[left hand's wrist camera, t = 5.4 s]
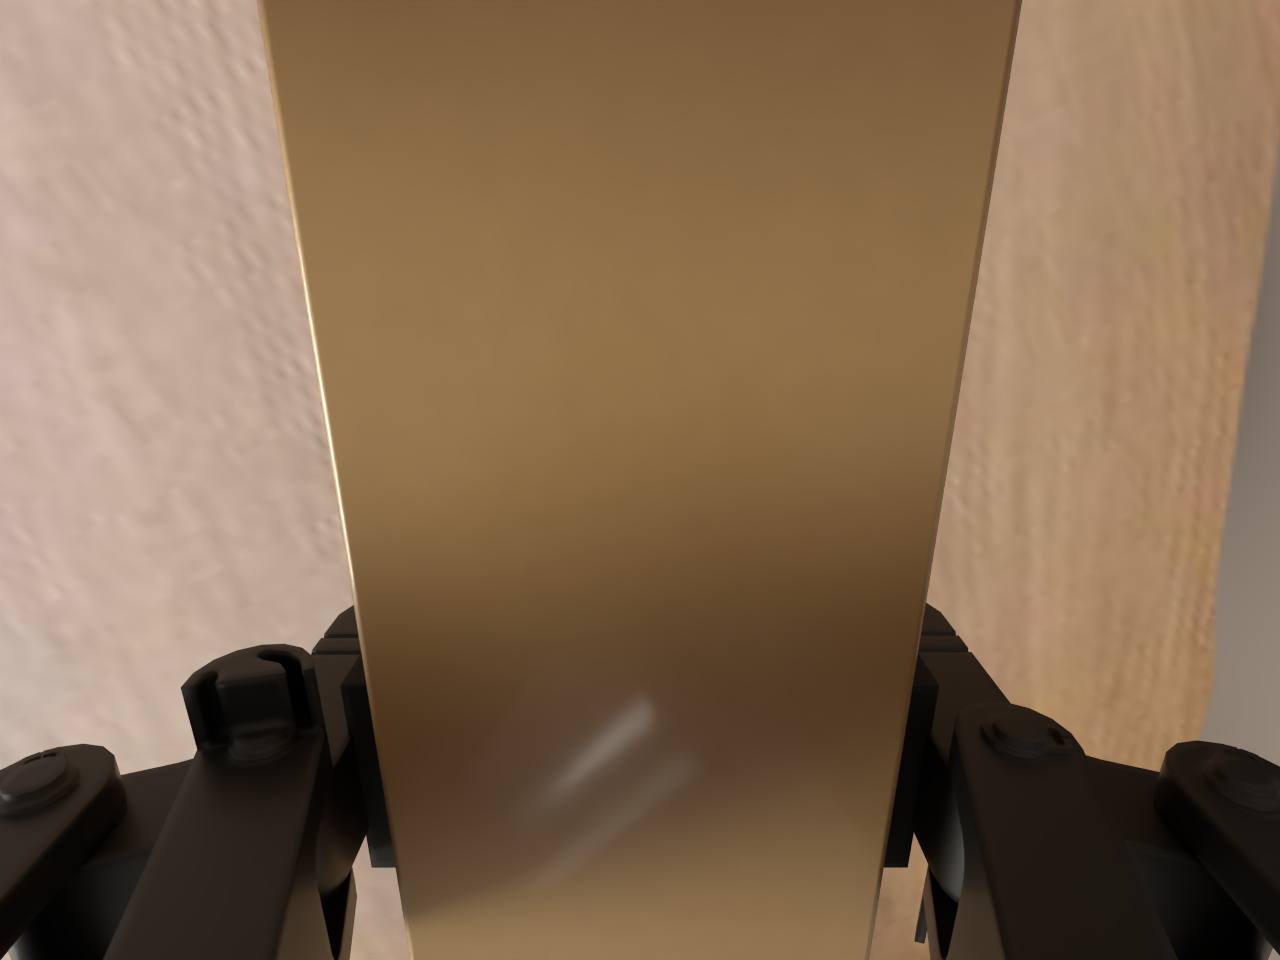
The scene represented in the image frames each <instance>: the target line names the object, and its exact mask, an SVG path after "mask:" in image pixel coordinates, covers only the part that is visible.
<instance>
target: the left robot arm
mask: <svg viewBox="0 0 1280 960" xmlns="http://www.w3.org/2000/svg"><path fill="white" fill-rule="evenodd" d="M181 690H182V694H183V698H184V702H185V705H186V709H187V713H188V716H189V720H190V724H191V728H192V731H193V735H194V739H195V742H196V746H197V752H196V754H195V756H194V759H190V760H187V761H183V762H180V763H175V764H171V765H166V766H162V767H157V768H152V769H148V770H143V771H138V772H134V773H129V774H124V775H120V772H119V769H118V766H117V763H116V760H115V756H114V755H113V754H112V753H111V752H109V751H108V750H107V749H106V748H105V747H103V746H96V745H89V744H78V745H71V746H63V747H57V748H53V749H49V750H45V751H44V752H41V753H40V752H39V753H36V754H33V755H30V756H28V757H25V758H23V759H22V760H20V761H18V762H16V763H14V764H12V765H10V766H8V767H6V768H4V769H2V770H0V960H1V959H2V958H3V956H4V955H5V954H6V953H7V952H8V953H9V955H10V957H11V960H350V951H351V943H352V934H353V926H354V917H355V908H356V900H357V893H356V886H355V879H354V874H353V868H352V865H353V863H354V860H355V858H356V856H357V854H358V851H359V849H360V847H361V845H362V842H363V840H364V838H365V836H366V837H367V842H368V848H369V854H370V859H371V865H372V867H396V866H395V860H394V854H393V847H392V841H391V835H390V829H389V822H388V816H387V810H386V804H385V797H384V791H383V785H382V779H381V772H380V766H379V760H378V754H377V747H376V741H375V735H374V729H373V722H372V716H371V710H370V704H369V697H368V691H367V685H366V679H365V672H364V666H363V660H362V654H361V647H360V641H359V635H358V629H357V622H356V616H355V610H354V605H353V606H352V607H350V608H348V609H347V610H345V611H344V612H342V613H341V614H339V616H338V617H337V618H336V619H335V621H334V622H333V623H332V625H331V626H330V627H329V629H328V630H327V631H326V633H325V634H324V638H321V639H320V640H319V642H318V643H317V644H316V646H315V647H314V648H313V650H312V654H311V655H310V654H309V653H308V652H307V651H305V650H304V649H303V648H300V647H296V646H291V645H287V644H271V645H259V646H255V647H250V648H246V649H241V650H237V651H235V652H232V653H230V654H227V655H225V656H222V657H220V658H218V659H215V660H213V661H211V662H210V663H208V664H207V665H205V666H204V667H202V668H201V669H199V670H197V671H196V672H194V673H193V674H192V675H191V676H190V678H189V679H188V680H187V681H186V682H185V683H184V684H183V686H182V687H181ZM914 833H915V835H916V838H917V840H918V842H919V844H920V847H921V849H922V851H923V853H924V856H925V858H926V860H927V862H928V868H927V874H926V879H925V884H924V889H923V895H922V900H921V905H920V911H919V916H918V921H917V927H916V934H915V942H919V943H924V942H925V937H926V932H928V941H929V949H930V958H931V960H1268V958H1269V956H1270V953H1271V951H1272V949H1273V948H1274V949H1275V950H1276V952H1277V953H1278V954H1279V955H1280V767H1279V766H1277V765H1275V764H1273V763H1271V762H1269V761H1267V760H1265V759H1263V758H1261V757H1259V756H1258V755H1256V754H1254V753H1251V752H1248V751H1246V750H1243V749H1237V748H1236V747H1232V746H1228V745H1225V744H1219V743H1212V742H1204V741H1190V742H1182V743H1177V744H1176V745H1174V746H1173V747H1172V748H1171V749H1169V750H1168V751H1167V752H1166V754H1165V758H1164V761H1163V764H1162V767H1161V770H1160V772H1156V771H1152V770H1147V769H1142V768H1138V767H1133V766H1128V765H1124V764H1119V763H1114V762H1110V761H1105V760H1101V759H1097V758H1094V757H1090V756H1086V755H1085V753H1084V751H1083V749H1082V747H1081V746H1080V745H1079V743H1078V742H1077V741H1076V739H1075V738H1074V736H1073V735H1072V734H1071V733H1070V732H1069V731H1067V730H1066V729H1065V728H1063V727H1062V726H1061V725H1059V724H1058V723H1057V722H1055V721H1054V720H1053V719H1051V718H1049V717H1047V716H1045V715H1043V714H1040V713H1038V712H1036V711H1034V710H1032V709H1030V708H1026V707H1022V706H1018V705H1015V704H1011V703H1010V702H1009V701H1008V699H1007V698H1006V697H1005V695H1004V694H1003V693H1002V692H1001V690H1000V689H999V688H998V686H997V685H996V684H995V682H994V681H993V680H992V678H991V677H990V676H989V675H988V673H987V672H986V671H985V669H984V668H983V667H982V665H981V664H980V663H979V662H978V660H977V659H976V658H975V656H974V655H973V654H972V652H968V647H967V646H966V645H965V643H964V642H963V641H962V639H961V638H960V637H959V636H956V632H955V630H954V629H953V628H952V626H951V625H950V624H949V622H948V621H947V620H946V619H945V617H944V616H943V615H942V613H941V612H940V611H938V610H937V609H935V608H933V607H932V606H930V605H929V604H927V603H926V605H925V611H924V617H923V624H922V630H921V636H920V642H919V649H918V655H917V661H916V667H915V674H914V680H913V686H912V693H911V699H910V705H909V711H908V718H907V724H906V730H905V736H904V743H903V749H902V755H901V761H900V768H899V774H898V780H897V786H896V793H895V799H894V805H893V812H892V818H891V824H890V830H889V837H888V843H887V849H886V855H885V862H884V867H908V862H909V857H910V851H911V845H912V839H913V834H914Z"/></svg>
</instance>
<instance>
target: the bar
mask: <svg viewBox="0 0 1280 960" xmlns="http://www.w3.org/2000/svg"><path fill="white" fill-rule="evenodd" d="M257 4H258V10H259V16H260V22H261V29H262V35H263V41H264V47H265V54H266V60H267V66H268V72H269V79H270V85H271V91H272V97H273V104H274V110H275V116H276V122H277V129H278V135H279V141H280V147H281V154H282V160H283V166H284V172H285V179H286V185H287V191H288V197H289V204H290V210H291V216H292V222H293V229H294V235H295V241H296V247H297V254H298V260H299V266H300V272H301V279H302V285H303V291H304V297H305V304H306V310H307V316H308V322H309V329H310V335H311V341H312V347H313V354H314V360H315V366H316V372H317V379H318V385H319V391H320V397H321V404H322V410H323V416H324V422H325V429H326V435H327V441H328V447H329V454H330V460H331V466H332V472H333V479H334V485H335V491H336V497H337V504H338V510H339V516H340V522H341V529H342V535H343V541H344V547H345V554H346V560H347V566H348V572H349V579H350V585H351V591H352V597H353V604H354V610H355V616H356V622H357V629H358V635H359V641H360V647H361V654H362V660H363V666H364V672H365V679H366V685H367V691H368V697H369V704H370V710H371V716H372V722H373V729H374V735H375V741H376V747H377V754H378V760H379V766H380V772H381V779H382V785H383V791H384V797H385V804H386V810H387V816H388V822H389V829H390V835H391V841H392V847H393V854H394V860H395V866H396V872H397V879H398V885H399V891H400V897H401V904H402V910H403V916H404V922H405V929H406V935H407V941H408V947H409V954H410V960H869V956H870V949H871V943H872V937H873V931H874V924H875V918H876V912H877V905H878V899H879V893H880V887H881V880H882V874H883V868H884V862H885V855H886V849H887V843H888V837H889V830H890V824H891V818H892V812H893V805H894V799H895V793H896V786H897V780H898V774H899V768H900V761H901V755H902V749H903V743H904V736H905V730H906V724H907V718H908V711H909V705H910V699H911V693H912V686H913V680H914V674H915V667H916V661H917V655H918V649H919V642H920V636H921V630H922V624H923V617H924V611H925V605H926V599H927V592H928V586H929V580H930V574H931V567H932V561H933V555H934V548H935V542H936V536H937V530H938V523H939V517H940V511H941V505H942V498H943V492H944V486H945V480H946V473H947V467H948V461H949V454H950V448H951V442H952V436H953V429H954V423H955V417H956V411H957V404H958V398H959V392H960V386H961V379H962V373H963V367H964V361H965V354H966V348H967V342H968V335H969V329H970V323H971V317H972V310H973V304H974V298H975V292H976V285H977V279H978V273H979V267H980V260H981V254H982V248H983V242H984V235H985V229H986V223H987V216H988V210H989V204H990V198H991V191H992V185H993V179H994V173H995V166H996V160H997V154H998V148H999V141H1000V135H1001V129H1002V123H1003V116H1004V110H1005V104H1006V97H1007V91H1008V85H1009V79H1010V72H1011V66H1012V60H1013V54H1014V47H1015V41H1016V35H1017V29H1018V22H1019V16H1020V10H1021V4H1022V0H257Z"/></svg>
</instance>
